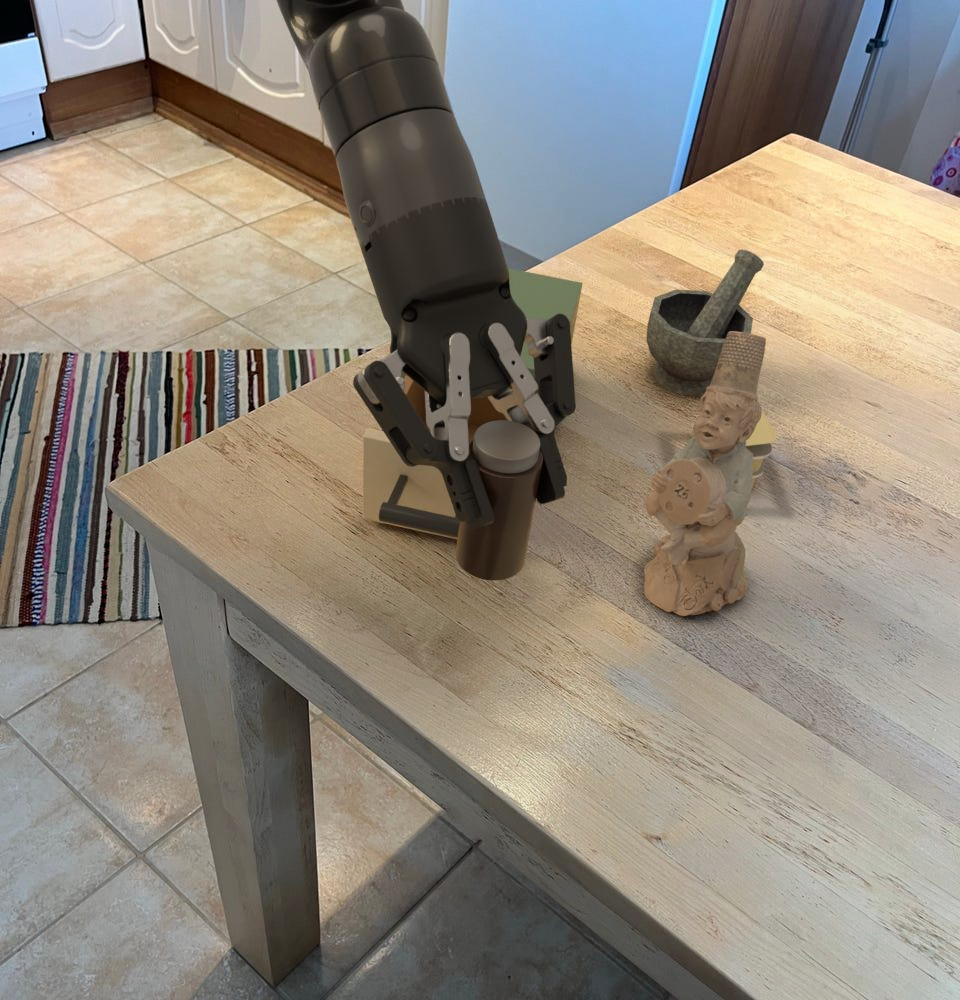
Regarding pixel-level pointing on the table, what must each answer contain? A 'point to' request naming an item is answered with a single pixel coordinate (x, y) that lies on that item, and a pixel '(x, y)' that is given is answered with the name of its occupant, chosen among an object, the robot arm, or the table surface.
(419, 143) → the robot arm
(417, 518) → the drawer
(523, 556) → the pepper mill
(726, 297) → the mortar and pestle
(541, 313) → the cabinet
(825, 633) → the table surface
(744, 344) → the figurine
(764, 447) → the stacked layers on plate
